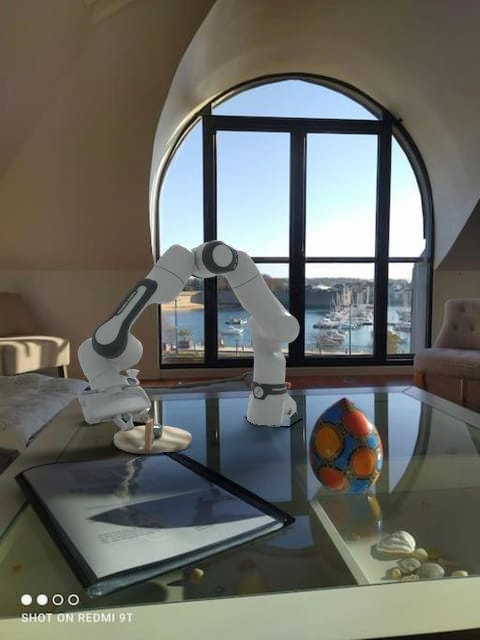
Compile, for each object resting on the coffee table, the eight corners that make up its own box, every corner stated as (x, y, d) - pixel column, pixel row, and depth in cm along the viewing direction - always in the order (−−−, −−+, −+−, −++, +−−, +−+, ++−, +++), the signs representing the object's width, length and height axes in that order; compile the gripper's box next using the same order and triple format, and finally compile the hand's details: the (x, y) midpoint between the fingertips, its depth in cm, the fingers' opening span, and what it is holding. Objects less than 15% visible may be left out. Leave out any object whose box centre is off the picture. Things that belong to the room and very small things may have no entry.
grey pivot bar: (149, 426, 138) (150, 403, 138) (165, 426, 139) (166, 404, 138) (137, 448, 117) (138, 422, 117) (156, 449, 118) (158, 423, 117)
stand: (157, 426, 146) (157, 421, 146) (207, 442, 132) (207, 437, 132) (97, 440, 128) (98, 434, 128) (148, 460, 115) (148, 454, 115)
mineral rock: (154, 426, 146) (155, 413, 145) (129, 427, 143) (129, 413, 143) (148, 415, 160) (149, 402, 159) (125, 415, 157) (125, 403, 157)
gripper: (81, 385, 119) (101, 430, 113) (142, 378, 135) (162, 417, 129) (70, 399, 121) (90, 444, 116) (132, 390, 138) (151, 429, 132)
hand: (128, 430), depth 123 cm, fingers closed
